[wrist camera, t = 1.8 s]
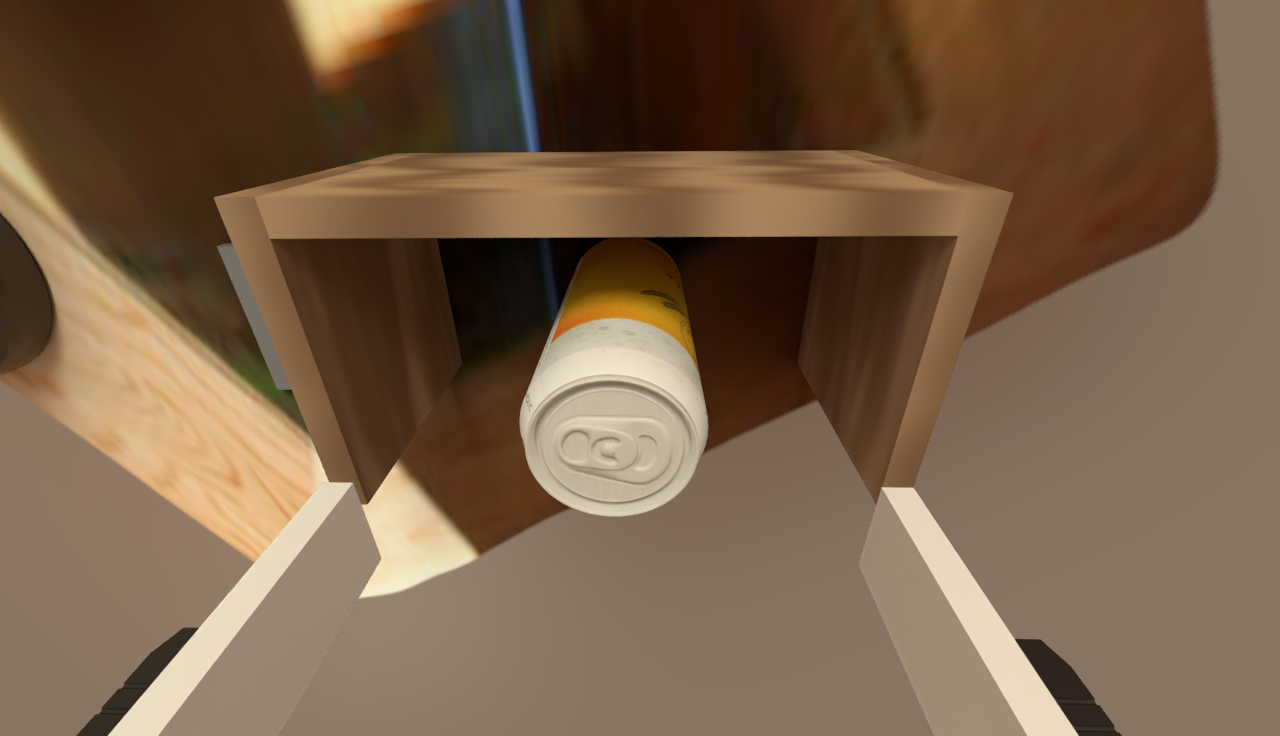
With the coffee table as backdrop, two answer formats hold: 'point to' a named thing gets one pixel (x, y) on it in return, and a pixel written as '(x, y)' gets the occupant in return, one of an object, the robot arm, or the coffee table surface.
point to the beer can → (617, 386)
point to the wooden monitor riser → (612, 207)
